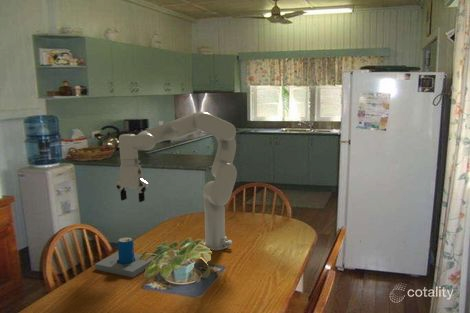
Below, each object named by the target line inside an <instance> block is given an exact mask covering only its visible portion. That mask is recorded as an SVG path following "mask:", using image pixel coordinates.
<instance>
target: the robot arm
mask: <svg viewBox="0 0 470 313" xmlns="http://www.w3.org/2000/svg"><path fill="white" fill-rule="evenodd" d="M198 132H203V133H205V134H207V135H209V136H212V137H215V139H216V141H217V151H216V155H215V157H214V161H213V164H212V166H211V170H210V171H211V175H212V176H213V177H214V180H210V181H208V182H207V183H205V184H204V186H203V188H202V189H203V190H202V198H203V204H204V205H203V206H204V207H203V208H204V234H205V236H204V237H205V241H204V242H203V243H202V244H204V245H205V246H207V247H208V248H210V249H211V250H212V251H222V250H225V249H227V248H228V247H232V246H233V240H231V239H228V236H226V212H225V208H226V207H225V205H227V203H228V202H229V201H230V199H231V197H232V196H231V195H232V194H233V190H234V187H235V184H236V180H237V176H238V172H237V168H236V166H235V164H233V163H234V160H235V155H236V151H237V142H236V135H237V129H236V127H235V124H232V123H231V122H229V121H227V120H224V119H222V118H220V117H217V116H216V115H213V114H211V113H209V112H206V111H196V112H193V113H191V114H187V115H185V116H182V117H179V118H177V119H173V120H171V121H169V122H166V123H162V124H160V125H157V126H153V127H151V128H148V129H145V130H143V131H140V132H138V134H134V133H126V134H125V133H124V134H121V135H119V137H118V144H119V145H118V146H119V156H120V158H119V159H120V165H119V175H118V176H119V178H118V179H116V180H115V181H114V185H115V186H116V189H118V192H119V193H120V200H121V201H125V200H127V199H128V198H127V197H128V196H127V190H126V189H131V190H132V189H134V190H135V189H136V191H138V202H139V203H142V202H144V201H145V200H146V199H145V192H146V191H147V189H148V186H149V182H148V181H146V180H144V173H143V169H142V166H141V160H140V159H139V153H138V151H150V150H152V149H153V148H155V146H156V144H159V143H161V142H164V141H173V140H180V139H183V138H185V137H187V136H190V135H193V134H195V133H198ZM211 250H210V251H211Z"/></svg>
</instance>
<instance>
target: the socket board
mask: <svg viewBox="0 0 470 313" xmlns="http://www.w3.org/2000/svg"><path fill="white" fill-rule="evenodd" d="M142 255H143V254H140V253H139V254H138V253H134V262H132V263H130V264H119V255H118V251H117V252H116V253H113V254H112V255H109V256H107V257H106V258H104V259H102V260H100V261H98V262H95V263H94V271H95V270H96V271H101V272H106V273H111V274H115V275H118V276H124V277H129V278H131V279H132V278H135V277H136V276H138V275H140V274H141V273H143V272H145V271H144V269H145V268H146V267H147V266H148V265H149V264H150V263H151V262H152V260H153V258H149V259H148V260H147V261H144V260H140V257H141V256H142Z"/></svg>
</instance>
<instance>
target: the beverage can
mask: <svg viewBox="0 0 470 313" xmlns="http://www.w3.org/2000/svg"><path fill="white" fill-rule="evenodd" d="M117 252H118V255H119V264H130V263H132V262H134V254H135V245H134V240H133V237H130V236H126V237H120V238H119V239H118V241H117Z"/></svg>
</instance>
